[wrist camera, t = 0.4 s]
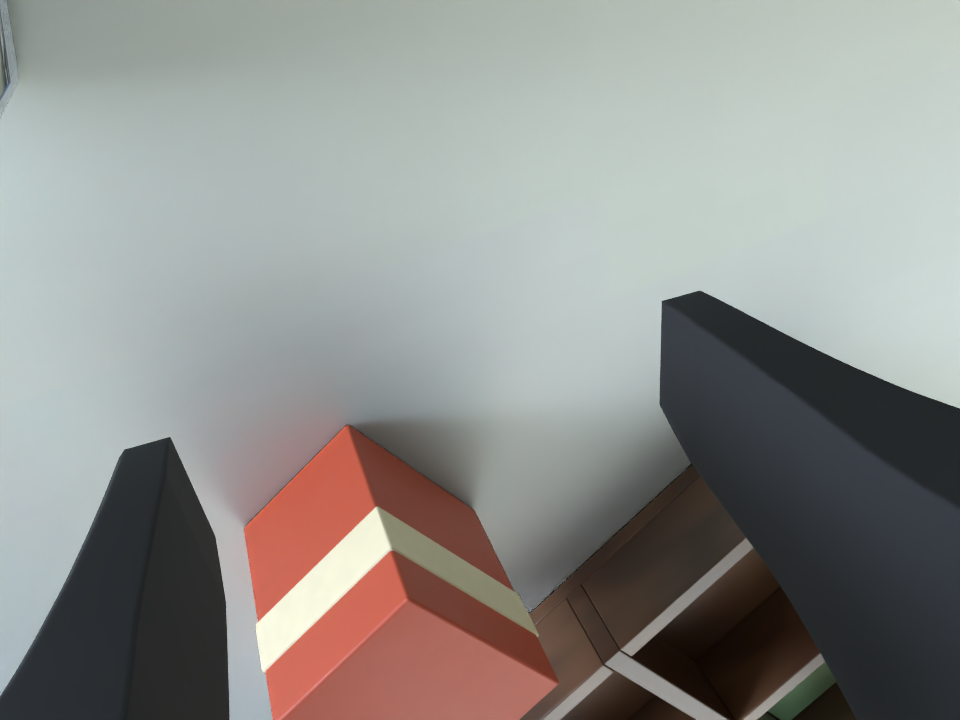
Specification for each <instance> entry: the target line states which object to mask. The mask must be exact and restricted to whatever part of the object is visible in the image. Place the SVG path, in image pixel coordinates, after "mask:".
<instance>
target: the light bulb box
mask: <svg viewBox="0 0 960 720" xmlns="http://www.w3.org/2000/svg"><path fill="white" fill-rule="evenodd" d="M17 84H18V68H17V61H16V55H15V49H14V43H13V38H12V31H11V25H10V19H9V13H8V7H7V0H0V118H1V116H2V114H3V112H4V109H5V108H6V106H7V104H8V102H9V100H10V98H11V96H12V94H13V92H14V90H15V88H16V86H17Z"/></svg>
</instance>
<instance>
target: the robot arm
mask: <svg viewBox="0 0 960 720" xmlns="http://www.w3.org/2000/svg"><path fill="white" fill-rule="evenodd" d="M660 406H661V408H662V410H663V412H664V414H665V416H666V418H667V420H668V422H669V424H670V425H671V427H672V429H673V431H674V433H675V435H676V437H677V439H678V440H679V442H680V444H681V446H682V448H683V449H684V451H685V453H686V455H687V457H688V458H689V460H690V461H691V463H692V464H693V466H694V467H695V468H696V470H697V471H698V473H699V474H700V475H701V477H702V478H703V480H704V481H705V482H706V484H707V485H708V486H709V488H710V489H711V491H712V492H713V493H714V495H715V496H716V498H717V499H718V500H719V502H720V503H721V504H722V506H723V507H724V508H725V510H726V511H727V512H728V514H729V515H730V517H731V518H732V519H733V521H734V522H735V523H736V525H737V526H738V527H739V529H740V530H741V531H742V533H743V534H744V536H745V537H746V538H747V540H748V541H749V542H750V544H751V545H752V546H753V548H754V549H755V550H756V552H757V553H758V555H759V556H760V557H761V559H762V560H763V561H764V563H765V564H766V565H767V567H768V568H769V569H770V571H771V572H772V574H773V575H774V577H775V578H776V580H777V581H778V583H779V584H780V586H781V587H782V589H783V590H784V592H785V593H786V595H787V596H788V598H789V600H790V601H791V603H792V605H793V607H794V608H795V610H796V612H797V613H798V615H799V617H800V619H801V620H802V622H803V624H804V625H805V627H806V629H807V631H808V632H809V634H810V636H811V637H812V639H813V641H814V643H815V644H816V646H817V648H818V649H819V651H820V653H821V655H822V657H823V658H824V660H825V662H826V664H827V666H828V668H829V669H830V671H831V673H832V675H833V677H834V678H835V680H836V682H837V684H838V686H839V688H840V689H841V691H842V693H843V695H844V697H845V698H846V700H847V702H848V704H849V706H850V708H851V709H852V711H853V713H854V715H855V717H856V719H857V720H960V409H959V408H956V407H953V406H951V405H948V404H945V403H942V402H939V401H936V400H934V399H931V398H928V397H925V396H922V395H919V394H917V393H914V392H912V391H909V390H906V389H904V388H901V387H899V386H896V385H894V384H891V383H889V382H887V381H884V380H882V379H880V378H877V377H875V376H873V375H871V374H868V373H866V372H864V371H861V370H859V369H857V368H854V367H852V366H850V365H848V364H846V363H843V362H841V361H839V360H837V359H835V358H833V357H830V356H828V355H826V354H824V353H822V352H820V351H818V350H816V349H814V348H812V347H810V346H808V345H806V344H804V343H802V342H800V341H798V340H796V339H794V338H792V337H790V336H788V335H786V334H784V333H782V332H780V331H778V330H776V329H774V328H772V327H770V326H769V325H767V324H765V323H763V322H761V321H759V320H757V319H755V318H753V317H751V316H749V315H747V314H746V313H744V312H742V311H740V310H738V309H736V308H734V307H732V306H730V305H728V304H726V303H724V302H722V301H720V300H718V299H716V298H714V297H712V296H710V295H708V294H706V293H704V292H702V291H697V292H693V293H690V294H686V295H682V296H679V297H675V298H672V299H668V300H664V301H662V324H661V367H660ZM0 720H229V687H228V652H227V623H226V601H225V594H224V588H223V581H222V574H221V568H220V562H219V556H218V550H217V544H216V538H215V535H214V533H213V530H212V528H211V526H210V524H209V522H208V519H207V517H206V515H205V513H204V511H203V508H202V506H201V504H200V502H199V499H198V497H197V495H196V493H195V491H194V488H193V486H192V484H191V482H190V480H189V477H188V475H187V473H186V471H185V469H184V466H183V464H182V462H181V460H180V458H179V455H178V453H177V451H176V449H175V446H174V444H173V442H172V440H171V438H170V437H169V438H165V439H162V440H158V441H154V442H151V443H147V444H143V445H140V446H136V447H133V448H129V449H125V450H124V451H123V453H122V454H121V456H120V457H119V459H118V462H117V465H116V467H115V470H114V472H113V475H112V477H111V480H110V482H109V485H108V487H107V490H106V492H105V495H104V497H103V500H102V502H101V504H100V507H99V509H98V512H97V514H96V516H95V518H94V521H93V523H92V525H91V528H90V530H89V532H88V535H87V537H86V539H85V541H84V543H83V545H82V547H81V550H80V552H79V554H78V556H77V558H76V560H75V562H74V565H73V567H72V569H71V571H70V573H69V575H68V577H67V579H66V581H65V583H64V585H63V587H62V589H61V591H60V593H59V595H58V597H57V599H56V601H55V602H54V604H53V606H52V608H51V610H50V612H49V614H48V616H47V617H46V619H45V621H44V623H43V625H42V627H41V629H40V630H39V632H38V634H37V636H36V638H35V640H34V641H33V643H32V645H31V647H30V648H29V650H28V652H27V654H26V655H25V657H24V659H23V660H22V662H21V664H20V665H19V667H18V669H17V670H16V672H15V674H14V675H13V677H12V678H11V680H10V682H9V683H8V685H7V686H6V688H5V689H4V691H3V693H2V694H1V696H0Z"/></svg>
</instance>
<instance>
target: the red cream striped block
mask: <svg viewBox="0 0 960 720" xmlns="http://www.w3.org/2000/svg"><path fill="white" fill-rule="evenodd" d="M244 533H245V539H246V546H247V552H248V559H249V566H250V572H251V579H252V585H253V592H254V599H255V605H256V612H257V618H258V623H257V624H256V626H255V627H256V634H257V641H258V647H259V654H260V661H261V668H262V672H263V673H265V674H266V678H267V684H268V691H269V698H270V704H271V711H272V717H273V720H519V719H520V718H521V717H523V716H524V715H525V714H526V713H527V712H528V711H529V710H530V709H531V708H533V707H534V706H535V705H536V704H537V703H538V702H539V701H540V700H542V699H543V698H544V697H545V696H546V695H547V694H548V693H549V692H550V691H552V690H553V689H554V688H555V687H556V686H557V685H558V684H559V680H558V678H557V676H556V674H555V672H554V670H553V668H552V666H551V664H550V662H549V660H548V658H547V656H546V654H545V652H544V650H543V648H542V646H541V644H540V642H539V640H538V638H537V637H538V636H539V634H538V632H537V630H536V628H535V626H534V624H533V622H532V620H531V618H530V616H529V614H528V612H527V610H526V608H525V606H524V604H523V602H522V600H521V598H520V596H519V594H517V593H516V592H515V591H514V589H513V587H512V585H511V583H510V581H509V579H508V577H507V575H506V573H505V571H504V569H503V567H502V565H501V563H500V561H499V559H498V557H497V555H496V553H495V551H494V549H493V547H492V545H491V543H490V541H489V539H488V537H487V535H486V533H485V531H484V529H483V527H482V525H481V523H480V521H479V518H478V516H477V514H476V512H475V510H473V509H472V508H470V507H469V506H467V505H466V504H464V503H463V502H461V501H460V500H458V499H457V498H456V497H454V496H453V495H451V494H450V493H448V492H447V491H445V490H444V489H442V488H441V487H439V486H438V485H436V484H435V483H433V482H432V481H431V480H429V479H428V478H426V477H425V476H423V475H422V474H420V473H419V472H417V471H416V470H414V469H413V468H411V467H410V466H408V465H407V464H406V463H404V462H403V461H401V460H400V459H398V458H397V457H395V456H394V455H392V454H391V453H389V452H388V451H386V450H385V449H383V448H382V447H381V446H379V445H378V444H376V443H375V442H373V441H372V440H370V439H369V438H367V437H366V436H364V435H363V434H361V433H360V432H359V431H357V430H356V429H354V428H353V427H351V426H350V425H346V426H345V427H344V428H343V429H342V430H341V431H340V432H339V433H338V434H337V435H336V436H335V437H334V438H333V439H332V440H331V441H330V442H329V443H328V444H327V445H326V446H325V447H324V448H323V449H322V450H321V451H320V452H319V453H318V454H317V455H316V456H315V457H314V458H313V459H312V460H311V461H310V462H309V463H308V464H307V465H306V466H305V467H304V468H303V469H302V470H301V471H300V472H299V473H298V474H297V475H296V476H295V477H294V478H293V479H292V480H291V481H290V482H289V483H288V484H287V485H286V486H285V487H284V488H283V489H282V490H281V491H280V492H279V493H278V494H277V495H276V496H275V497H274V498H273V499H272V500H271V501H270V502H269V503H268V504H267V505H266V506H265V507H264V508H263V509H262V510H261V511H260V512H259V513H258V514H257V515H256V516H255V517H254V518H253V519H252V520H251V521H250V522H249V523H248V524H247V525H246V526H245V528H244Z"/></svg>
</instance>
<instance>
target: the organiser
mask: <svg viewBox="0 0 960 720" xmlns="http://www.w3.org/2000/svg"><path fill="white" fill-rule="evenodd" d="M529 616H530V618H531V620H532V622H533V624H534V626H535V628H536V630H537V632H538V634H539V636H538V637H537V638H538V640H539V642H540V644H541V646H542V648H543V650H544V652H545V654H546V656H547V658H548V660H549V662H550V664H551V666H552V668H553V670H554V672H555V674H556V676H557V678H558V680H559V684H558V685H557V686H556V687H555V688H554V689H553V690H552V691H550V692H549V693H548V694H547V695H546V696H545V697H544V698H543V699H542V700H540V701H539V702H538V703H537V704H536V705H535V706H534V707H533V708H531V709H530V710H529V711H528V712H527V713H526V714H525V715H524V716H523V717H521V718H520V719H519V720H857V719H856V717H855V715H854V713H853V711H852V709H851V708H850V706H849V704H848V702H847V700H846V698H845V697H844V695H843V693H842V691H841V689H840V688H839V686H838V684H837V682H836V680H835V678H834V677H833V675H832V673H831V671H830V669H829V668H828V666H827V664H826V662H825V660H824V658H823V657H822V655H821V653H820V651H819V649H818V648H817V646H816V644H815V643H814V641H813V639H812V637H811V636H810V634H809V632H808V631H807V629H806V627H805V625H804V624H803V622H802V620H801V619H800V617H799V615H798V613H797V612H796V610H795V608H794V607H793V605H792V603H791V601H790V600H789V598H788V596H787V595H786V593H785V592H784V590H783V589H782V587H781V586H780V584H779V583H778V581H777V580H776V578H775V577H774V575H773V574H772V572H771V571H770V569H769V568H768V567H767V565H766V564H765V563H764V561H763V560H762V559H761V557H760V556H759V555H758V553H757V552H756V550H755V549H754V548H753V546H752V545H751V544H750V542H749V541H748V540H747V538H746V537H745V536H744V534H743V533H742V531H741V530H740V529H739V527H738V526H737V525H736V523H735V522H734V521H733V519H732V518H731V517H730V515H729V514H728V512H727V511H726V510H725V508H724V507H723V506H722V504H721V503H720V502H719V500H718V499H717V498H716V496H715V495H714V493H713V492H712V491H711V489H710V488H709V486H708V485H707V484H706V482H705V481H704V480H703V478H702V477H701V475H700V474H699V473H698V471H697V470H696V468H695V467H694V466H693V464H692V465H691V466H690V467H689V468H688V469H687V470H686V471H684V472H683V473H682V474H681V475H680V476H679V477H678V478H677V479H676V480H675V481H674V482H673V483H671V484H670V485H669V486H668V487H667V488H666V489H665V490H664V491H663V492H662V493H661V494H659V495H658V496H657V497H656V498H655V499H654V500H653V501H652V502H651V503H650V504H649V505H648V506H646V507H645V508H644V509H643V510H642V511H641V512H640V513H639V514H638V515H637V516H636V517H634V518H633V519H632V520H631V521H630V522H629V523H628V524H627V525H626V526H625V527H624V528H623V529H621V530H620V531H619V532H618V533H617V534H616V535H615V536H614V537H613V538H612V539H611V540H609V541H608V542H607V543H606V544H605V545H604V546H603V547H602V548H601V549H600V550H599V551H598V552H596V553H595V554H594V555H593V556H592V557H591V558H590V559H589V560H588V561H587V562H586V563H584V564H583V565H582V566H581V567H580V568H579V569H578V570H577V571H576V572H575V573H574V574H572V575H571V576H570V577H569V578H568V579H567V580H566V581H565V582H564V583H563V584H562V585H561V586H559V587H558V588H557V589H556V590H555V591H554V592H553V593H552V594H551V595H550V596H549V597H547V598H546V599H545V600H544V601H543V602H542V603H541V604H540V605H539V606H538V607H537V608H536V609H534V610H533V611H532V612H531V613H530V614H529Z"/></svg>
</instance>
